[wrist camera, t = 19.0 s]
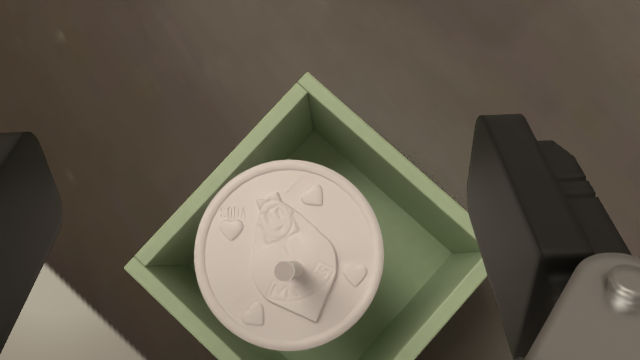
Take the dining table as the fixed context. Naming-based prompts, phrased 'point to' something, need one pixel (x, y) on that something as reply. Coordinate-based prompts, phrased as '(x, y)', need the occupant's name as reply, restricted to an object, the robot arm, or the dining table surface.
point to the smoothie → (289, 255)
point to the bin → (390, 210)
